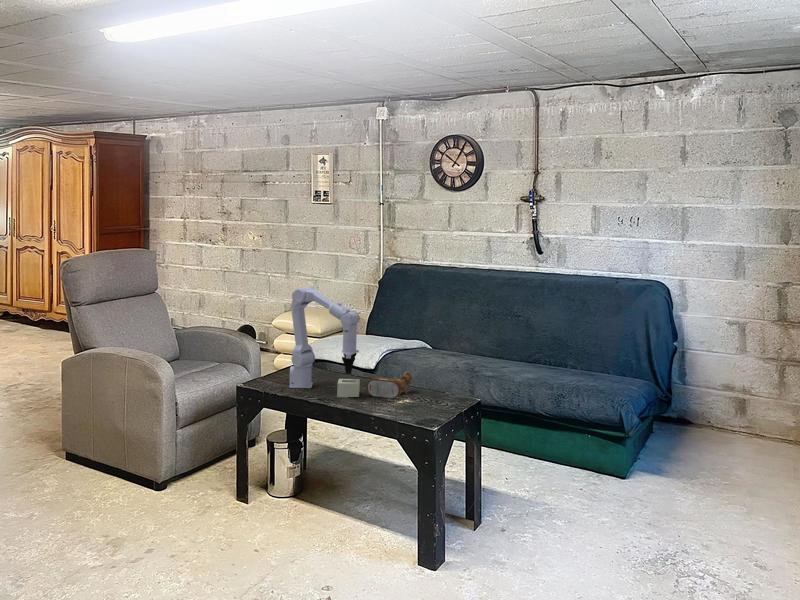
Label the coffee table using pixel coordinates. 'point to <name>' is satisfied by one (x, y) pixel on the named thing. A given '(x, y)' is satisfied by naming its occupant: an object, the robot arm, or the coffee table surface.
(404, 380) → the lion figurine
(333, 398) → the coffee table surface
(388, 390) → the tin
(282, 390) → the coffee table surface
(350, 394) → the box
